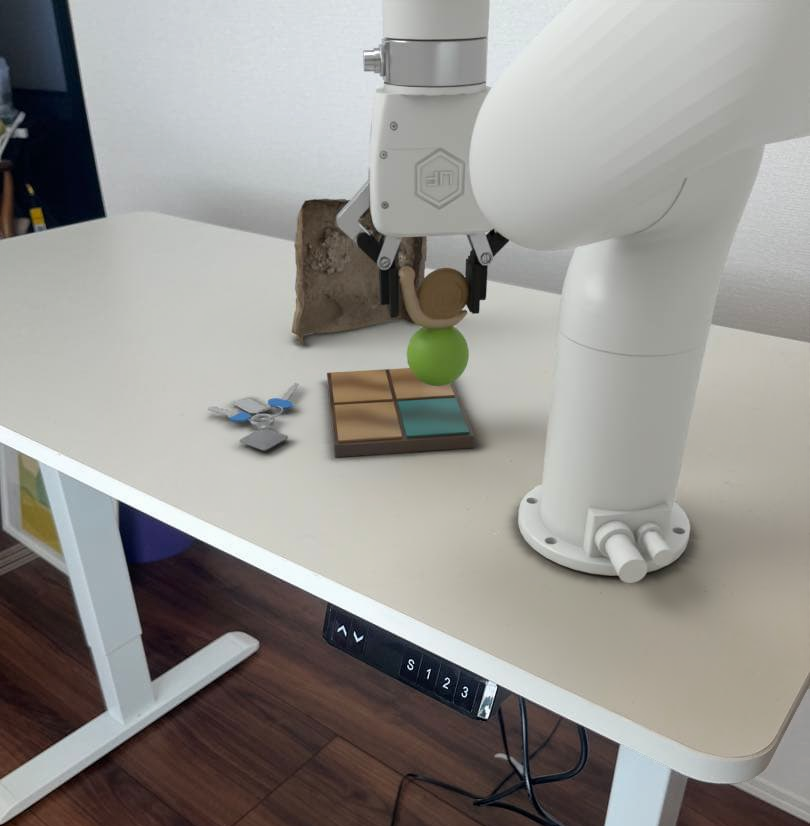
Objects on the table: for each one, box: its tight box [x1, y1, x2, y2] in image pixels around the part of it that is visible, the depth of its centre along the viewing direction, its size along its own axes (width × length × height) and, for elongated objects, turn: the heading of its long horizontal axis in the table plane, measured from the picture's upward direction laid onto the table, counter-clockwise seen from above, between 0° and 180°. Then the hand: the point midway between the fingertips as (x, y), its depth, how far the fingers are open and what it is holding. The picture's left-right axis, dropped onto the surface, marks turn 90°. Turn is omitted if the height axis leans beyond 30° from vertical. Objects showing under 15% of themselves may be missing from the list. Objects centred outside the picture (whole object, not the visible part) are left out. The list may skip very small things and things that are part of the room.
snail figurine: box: [397, 252, 470, 386], centre depth 70 cm, size 5×6×12 cm
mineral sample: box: [291, 198, 428, 346], centre depth 93 cm, size 17×4×15 cm, turn 115°
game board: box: [326, 367, 476, 458], centre depth 78 cm, size 16×12×1 cm
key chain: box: [207, 382, 299, 452], centre depth 77 cm, size 14×8×1 cm, turn 1°
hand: (432, 308), depth 69 cm, fingers closed on snail figurine, 6 cm apart
